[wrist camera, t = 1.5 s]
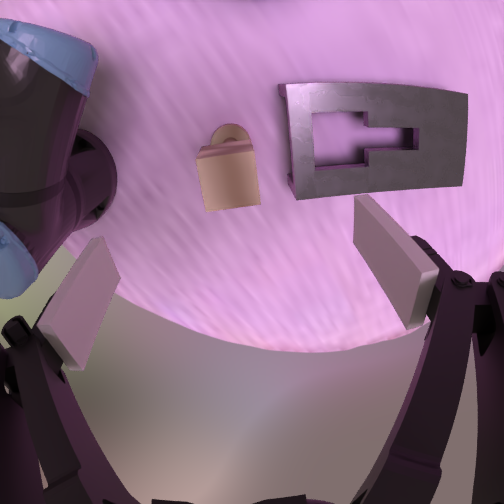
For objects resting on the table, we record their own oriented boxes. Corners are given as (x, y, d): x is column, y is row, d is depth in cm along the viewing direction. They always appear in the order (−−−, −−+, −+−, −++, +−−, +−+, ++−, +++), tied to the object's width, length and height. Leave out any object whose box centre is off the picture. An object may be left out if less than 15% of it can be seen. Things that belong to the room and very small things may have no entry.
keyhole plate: (288, 184, 41) (296, 200, 36) (278, 84, 34) (285, 84, 29) (440, 172, 41) (462, 186, 36) (443, 89, 33) (467, 94, 28)
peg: (214, 162, 39) (203, 215, 25) (208, 126, 36) (191, 157, 22) (252, 157, 39) (264, 206, 24) (247, 121, 36) (257, 147, 22)
